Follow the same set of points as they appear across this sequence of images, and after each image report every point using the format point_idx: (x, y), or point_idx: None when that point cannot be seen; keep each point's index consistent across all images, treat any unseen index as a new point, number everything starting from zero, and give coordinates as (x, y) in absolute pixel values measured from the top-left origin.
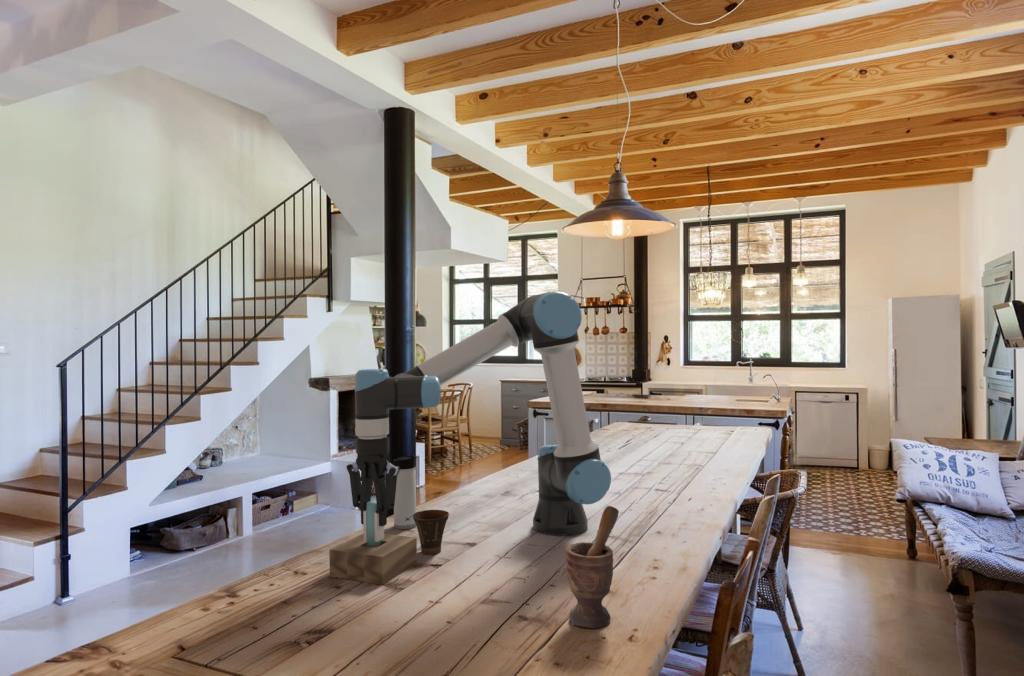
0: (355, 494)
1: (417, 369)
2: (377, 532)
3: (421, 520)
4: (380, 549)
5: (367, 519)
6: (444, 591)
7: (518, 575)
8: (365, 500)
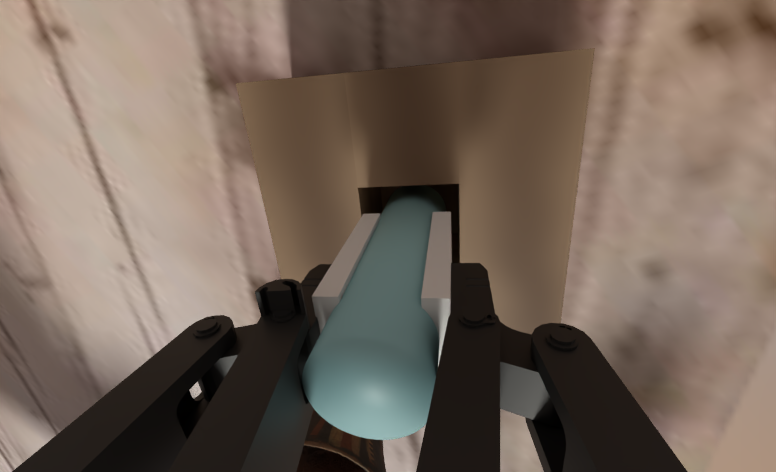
0: (592, 440)
1: None
2: (351, 233)
3: (306, 440)
4: (322, 171)
5: (413, 266)
6: (95, 125)
7: (49, 296)
8: (436, 386)
